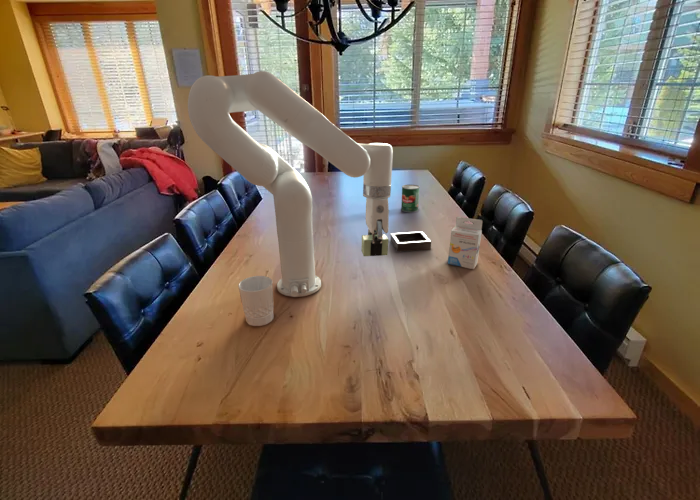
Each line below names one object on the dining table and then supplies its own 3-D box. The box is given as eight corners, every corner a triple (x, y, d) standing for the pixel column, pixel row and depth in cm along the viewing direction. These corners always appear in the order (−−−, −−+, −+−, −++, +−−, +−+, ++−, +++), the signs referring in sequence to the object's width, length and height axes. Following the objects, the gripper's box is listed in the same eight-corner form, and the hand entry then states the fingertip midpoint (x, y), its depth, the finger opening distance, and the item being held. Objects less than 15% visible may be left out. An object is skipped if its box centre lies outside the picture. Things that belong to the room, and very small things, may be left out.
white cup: (262, 306, 98) (258, 272, 94) (282, 317, 93) (279, 281, 89) (237, 320, 92) (231, 284, 88) (257, 332, 88) (252, 295, 84)
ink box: (447, 264, 119) (451, 220, 114) (451, 258, 123) (455, 216, 118) (474, 269, 116) (480, 225, 110) (477, 263, 120) (483, 220, 114)
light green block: (387, 255, 108) (388, 239, 106) (363, 256, 107) (364, 240, 105) (384, 249, 111) (385, 234, 109) (361, 250, 110) (361, 235, 108)
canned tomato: (417, 207, 176) (419, 184, 172) (418, 212, 169) (420, 188, 165) (400, 207, 177) (401, 184, 173) (401, 212, 170) (402, 188, 166)
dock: (430, 249, 131) (431, 241, 129) (397, 251, 129) (397, 243, 128) (421, 239, 140) (422, 231, 138) (390, 241, 138) (390, 233, 137)
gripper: (398, 198, 95) (393, 263, 102) (383, 183, 110) (380, 241, 117) (369, 198, 94) (366, 264, 101) (358, 183, 109) (357, 242, 116)
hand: (374, 251), depth 109 cm, fingers closed on light green block, 4 cm apart
